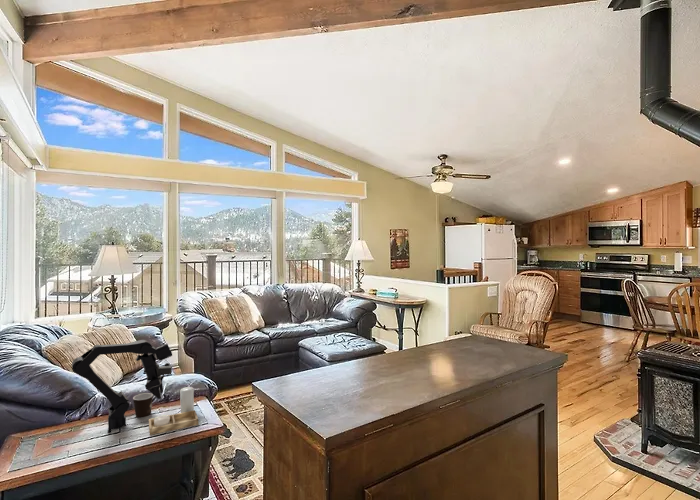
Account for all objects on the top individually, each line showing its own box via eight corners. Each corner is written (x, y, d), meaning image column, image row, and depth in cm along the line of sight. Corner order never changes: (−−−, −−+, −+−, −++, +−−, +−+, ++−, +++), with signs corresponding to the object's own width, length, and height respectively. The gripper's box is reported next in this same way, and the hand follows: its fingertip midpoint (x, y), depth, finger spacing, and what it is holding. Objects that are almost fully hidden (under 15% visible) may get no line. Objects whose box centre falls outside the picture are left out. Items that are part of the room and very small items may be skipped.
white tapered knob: (181, 419, 187) (181, 392, 187) (180, 414, 193) (179, 388, 192) (194, 416, 190) (194, 390, 190) (192, 411, 195) (192, 386, 195)
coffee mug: (144, 421, 185) (144, 400, 185) (129, 419, 187) (128, 399, 186) (161, 411, 196) (161, 391, 196) (146, 409, 198) (146, 390, 198)
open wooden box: (149, 437, 170) (149, 429, 170) (148, 427, 179) (148, 419, 179) (198, 427, 179) (198, 419, 179) (195, 417, 189) (194, 410, 189)
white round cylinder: (154, 431, 173) (154, 422, 172) (153, 425, 178) (153, 417, 178) (170, 428, 176) (170, 419, 176) (169, 422, 181) (169, 414, 181)
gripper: (165, 363, 179) (176, 394, 181) (169, 354, 197) (179, 382, 198) (139, 373, 176) (151, 404, 177) (146, 363, 193) (156, 392, 194)
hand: (161, 395), depth 187 cm, fingers open, 9 cm apart
